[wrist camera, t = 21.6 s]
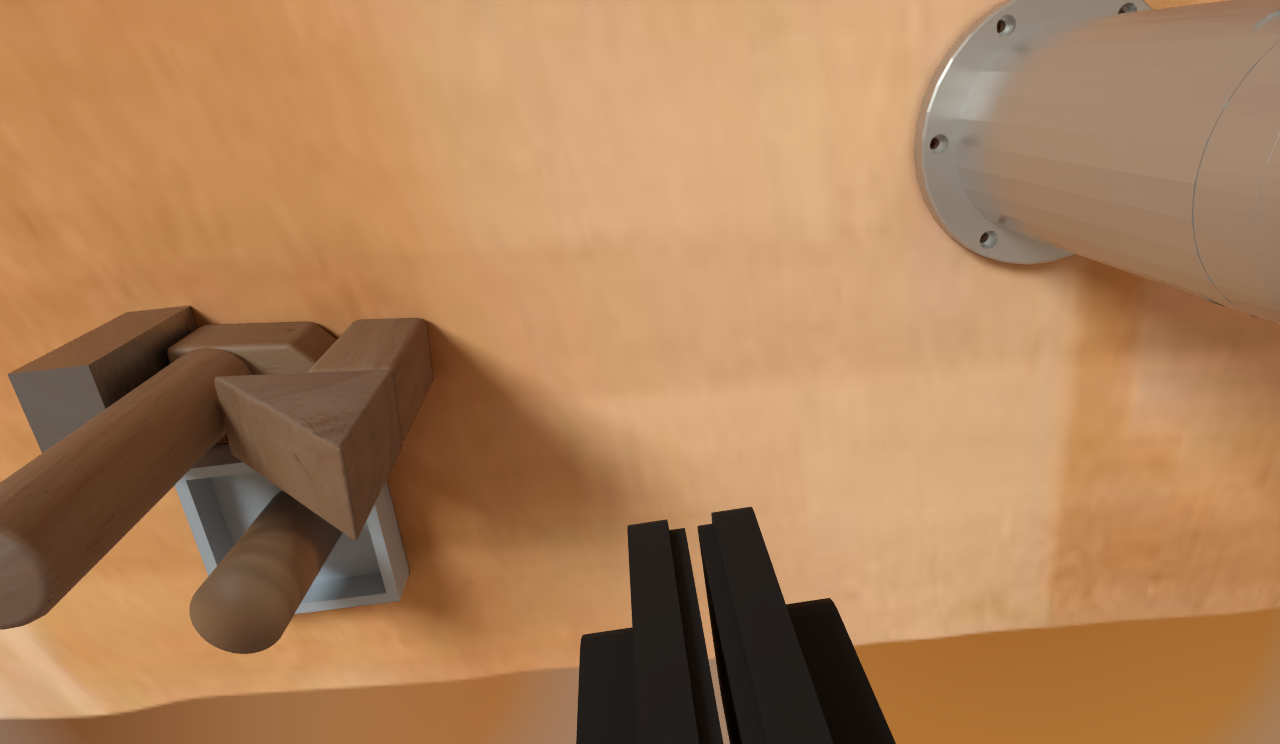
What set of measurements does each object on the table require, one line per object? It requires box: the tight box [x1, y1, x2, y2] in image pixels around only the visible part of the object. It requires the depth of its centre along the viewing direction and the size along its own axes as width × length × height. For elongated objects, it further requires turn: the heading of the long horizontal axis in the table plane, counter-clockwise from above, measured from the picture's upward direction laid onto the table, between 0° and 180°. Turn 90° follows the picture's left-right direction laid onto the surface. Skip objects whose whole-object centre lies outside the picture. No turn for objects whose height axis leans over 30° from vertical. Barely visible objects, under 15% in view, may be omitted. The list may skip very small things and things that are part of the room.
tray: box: [175, 443, 410, 614], centre depth 39 cm, size 9×9×2 cm
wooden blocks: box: [0, 318, 433, 629], centre depth 29 cm, size 4×11×18 cm, turn 91°
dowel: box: [190, 490, 342, 654], centre depth 36 cm, size 4×4×8 cm
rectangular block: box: [8, 306, 197, 453], centre depth 33 cm, size 3×6×8 cm, turn 5°
